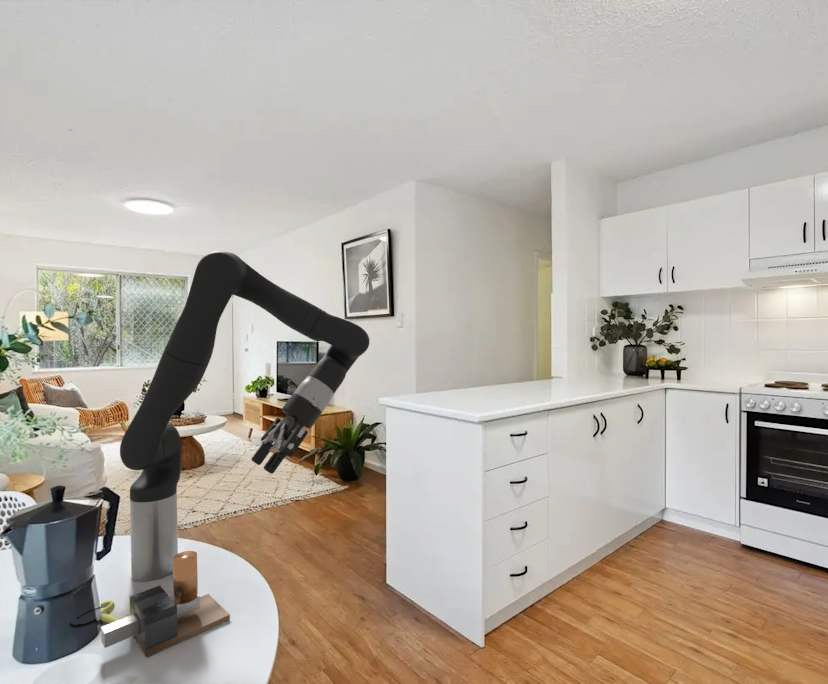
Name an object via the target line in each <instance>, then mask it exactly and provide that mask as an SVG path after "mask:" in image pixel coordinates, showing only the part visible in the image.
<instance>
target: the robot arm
mask: <svg viewBox="0 0 828 684" xmlns="http://www.w3.org/2000/svg"><path fill="white" fill-rule="evenodd" d="M192 278H193V279H192V282H191V285H190V289H189V291H188V296H187V299H186V302H185V305H184V307H183V310H182V312H181V314H180V315H179V318H178V320H177V322H176V323H175V326H174V328H173V330H172V332H171V334H170V337H169V339H168V341H167V343H166V345H165V347H164V349H163V352H162V354H161V357H160V359H159V362H158V364H157V367H156V370H155V373H154V375H153V377H152V379H151V380H150V384H149V386H148V388H147V391H146V393H145V395H144V398H143V400H142V402H141V403H140V406H139V408H138V410H137V412H136V413H135V414H134V416H133V418H132V420H131V422H130V424H128V425H129V426H128V428H127V429H126V431H125V433H124V435H123V437H122V439H121V442H120V446H119V455H120V459H121V462H122V464H123V465H124V466H125V467H126V468H128V469H129V470H132V471H142V472H140V473H141V474H140V475H139V477H138V478H137V479H136V480H135V481H134V482H133V483H132V484H131V486H130V488H129V513H130V514H129V516H130V519H129V520H130V521H129V522H130V523H129V524H130V563H131V564H130V569H131V572H130V573H131V578H132V580H135V581H138V582H139V581H142V582H146V581H147V582H148V581H154V580H158V579H161V578H164V577H166V576H168V575H171V574H173V557H174V556H175V555H176V554H178V553H179V550H178V549H179V545H178V544H179V541H178V539H179V538H178V537H179V536H178V497H177V496H178V495H177V491H178V490H177V489H178V486H177V485H178V483H179V482H180V478H181V473H182V472H181V467H182V465H181V464H182V440H181V436H180V433H179V431H178V429H177V428H176V426H175V425H173V424H171V422H170V421H171V419H172V417H173V415H174V414H175V413H176V411H177V410H178V409H179V408H180V407H181V406H182V404H183V403H185V401H186V400H187V399H188V398H189V397H190V395H192V394H193V392H194V391H195V390H196V389H197V387H198V386H199V384H200V383H201V381H202V380H203V377H204V375H205V373H206V371H207V368H208V367H209V364H210V361H211V359H212V355H213V352H214V347H215V342H216V336H217V332H218V331H217V330H218V327H219V326H218V325H219V322H220V320H221V317H222V315H223V313H224V311H225V310H226V307H227V306H228V304H229V301H230V299H231V298H232V297H233V296H236V297H238V298H241V299H244V300H246V301H248V302H251V303H253V304H255V305H256V306H258V307H259V308H261V309H263V310H264V311H266V312H267V313H269V314H270V315H272V316H273V317H275V318H276V319H277V320H279V322H282V323H283V325H286V326H287V327H288V328H290V329H292V330H293V331H295V332H297V333H299V334H301V335H303V336H304V337H306V338H309V339H310V340H313V341H315V342H324V343H326V344H329V347H328V349H327V350H326V352H325V353H324V355H323V357H322V358H321V359H320V360H319V361H318V362H317V363H316V364H315V366H314V367H313V368H312V370H311V371H310V372H309V373H308V375H307V376H306V378H305V379H304V380H302V382H301V383H300V384H299V385H298V386H297V388H296V389H295V390H294V392H293V393H292V394H291V395H290V397H289V399H287V401H286V402H285V404H284V405H283V406H282V408H281V411H282V413H283V414H285V417H284V418H283V419H281V418H280V417H277V418H275V419H274V421H273V423H272V424H270V427H268V429H267V430H266V431H265V433H264V434H263V435H262V437H260V441H261V443H260V444H261V445H260V446H259V448H258V449H257V450H256V452H255V453H254V454H253V456H251V460H250V461H252V462H254V463H255V464H256V465H258V466H260V465H261V464H262V463H263V462H264V461H265V459H266V458H267V456H268V455H269V454H270V452H271V451H272V450H273V449H274V448H275V447H276V449H275V451H273V453H272V455H271V456H270V457H269V459H268V460H267V462H266V463H265V464H264V466H263V470H265V471H266V472H268V473H269V474H271V475H272V474H274V473H275V472H276V470H277V469H278V467H279V466H280V465H281V464H282V462H283V460H284V459H287V458H288V457H289V458H291V457H293V456H294V454H295V453H296V451H297V450H298V449H299V447H300V446H301V444H302V443H303V441H304V440H305V438H306V437H307V435H308V434H309V431H307V430H311V429H312V427H313V426H314V425H315V424H316V422H317V421H318V419H319V418H320V416H321V415H322V414H323V412H324V410H325V409H326V408H327V406H328V405H329V404H330V402H331V400H332V398H333V396H334V395H335V394H336V392H337V390H338V389H339V388H340V386H341V385H342V383H343V382H344V380H345V378H346V376H347V373H349V372H348V371H350V369H351V367H353V365H354V363H355V362H356V361H357V360H358V359H359V357H360V356H362V355H363V354H365V353H366V352H367V351H368V349H369V346H370V336H369V334H368V333H367V332H366V331H365V329H364V328H362V327H361V326H359V325H358V324H356V323H355V322H352V321H349V320H347V319H344V318H341V317H339V316H335V315H332V314H329V313H328V312H326V311H325V310H323V309H321V308H320V307H318V306H316V305H314V304H312V303H311V302H309V301H307V300H305V299H303V298H302V297H300V296H298V295H296V294H293V293H292V292H290V291H288V290H286V289H285V288H282V287H280V286H279V285H278V284H276V283H274V282H272V281H271V280H270V279H268V278H267V277H265V276H264V275H262V274H260V272H258V271H257V270H255V269H254V268H253V267H251V266H250V265H249V264H247V263H246V262H245V261H244V260H243V259H242V258H240V257H239V256H238V255H237V254H235V253H233V252H229V251H212V252H209V253H207V254H206V255H204V256H202V257H201V259H200V260H199V261H198V263H197V265H196V268H195V272H194V274H193V277H192ZM306 429H307V430H306Z"/></svg>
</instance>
